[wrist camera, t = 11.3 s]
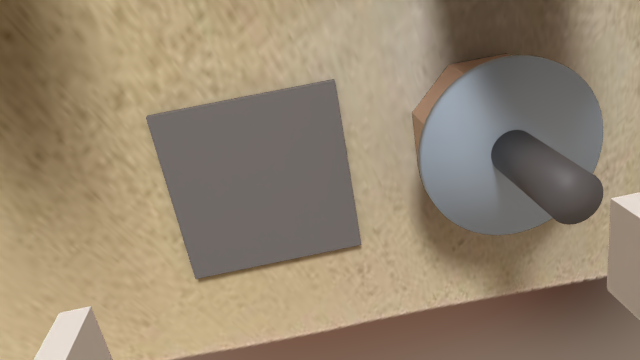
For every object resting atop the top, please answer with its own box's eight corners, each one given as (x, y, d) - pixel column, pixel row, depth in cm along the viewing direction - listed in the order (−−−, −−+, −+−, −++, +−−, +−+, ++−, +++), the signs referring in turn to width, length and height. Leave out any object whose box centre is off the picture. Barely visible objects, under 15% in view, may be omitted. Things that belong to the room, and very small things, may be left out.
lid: (426, 244, 41) (470, 316, 33) (408, 75, 36) (454, 110, 28) (592, 209, 42) (676, 272, 33) (597, 38, 37) (698, 61, 28)
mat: (196, 275, 46) (195, 279, 45) (147, 115, 40) (146, 117, 40) (360, 241, 46) (361, 244, 46) (333, 79, 41) (334, 80, 40)
